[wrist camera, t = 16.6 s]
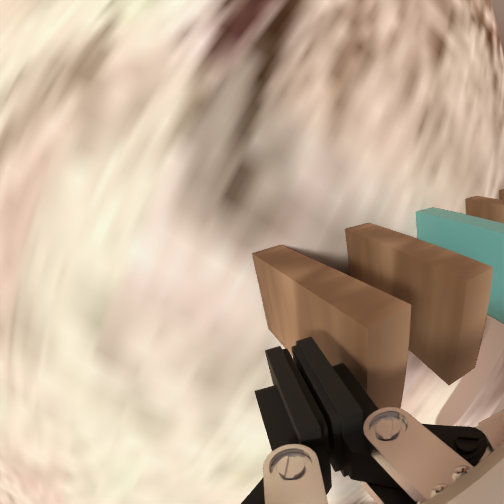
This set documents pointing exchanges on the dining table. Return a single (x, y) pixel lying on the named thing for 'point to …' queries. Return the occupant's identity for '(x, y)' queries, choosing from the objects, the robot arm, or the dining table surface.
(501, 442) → the robot arm
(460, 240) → the domino
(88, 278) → the dining table surface
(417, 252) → the domino
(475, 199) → the domino
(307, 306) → the domino
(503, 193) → the domino
